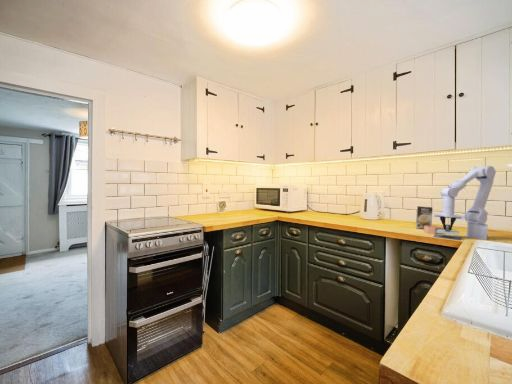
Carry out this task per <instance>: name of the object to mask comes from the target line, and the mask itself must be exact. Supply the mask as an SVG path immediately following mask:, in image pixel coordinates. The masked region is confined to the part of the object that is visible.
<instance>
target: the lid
mask: <svg viewBox="0 0 512 384" xmlns="http://www.w3.org/2000/svg"><path fill="white" fill-rule="evenodd" d="M436 233H441V234H444V235H445V234H446V235H452V236H453V235H454V236H455V235H456V236H458V235H459V231H458V230H450V224H447V223H445V230H444V229H442V228H441V229H438V230H437V231H436Z"/></svg>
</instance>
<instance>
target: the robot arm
mask: <svg viewBox="0 0 512 384" xmlns="http://www.w3.org/2000/svg"><path fill="white" fill-rule="evenodd" d="M496 173H497V170H496V169H495V167H494V166H492V165H487V166H485V165H483V166H474V167H472V168H471V169H470V170H469V172H468V173H467V174H466V175H464V177H462V178H461V179H456V180H454V182H452V183H451V184H449V185H448V186H447V187H444V188H443V189H441V192H439V193H440V195H441V199H442V212H441V213H432V218H439V220H440V221H441V224H442V227H443V230H445V224H446V219H450V224H449V225H450V230H451V231H453V230H452V229H453V225H454V224H455V222H456V220H457V219H458V220H465V221H466V223H467V225H466V227H467V228H466V235H465V238H470V239H480V240H488V236H489V234H488V224H486V223H487V221H488V211H487V210H486V206H487V205H486V204H487V202H488V199H489V196H490V193H491V192H492V191H491V190H492V187H493V184H494V179H495V177H496ZM475 179H476V180H477V181H479V182H480V183H479V187H478V190H477V193H476V195H475V198H474V202H473V204H472V206H471V207H469V208H468V209H467V211H466V212H465V213H464V215H459V214H455V207H456V205H455V202H456V200H455V199H456V197H457V196H458V194H459V192H460V191H462V190H463V189H465V188H466V186H467V185H466V184H467V183H469V182H471V181H472V180H475Z"/></svg>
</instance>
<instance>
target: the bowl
mask: <svg viewBox="0 0 512 384" xmlns="http://www.w3.org/2000/svg"><path fill="white" fill-rule="evenodd" d="M442 227H443V226H439V225H433V224H432V225H425V226H424V229H423V232H424V233H425V234H431V235H432V234H433V235H435V234H438V235H442V233H436V231H437V230H438V229H442Z"/></svg>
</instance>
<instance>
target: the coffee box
mask: <svg viewBox="0 0 512 384" xmlns="http://www.w3.org/2000/svg"><path fill="white" fill-rule="evenodd" d="M432 221H433V207H430V206H417V207H416V220H415V229H418V230H424V226H425V225H433V223H432Z"/></svg>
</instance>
